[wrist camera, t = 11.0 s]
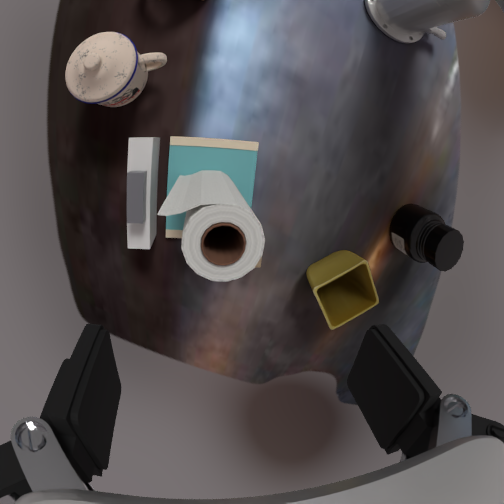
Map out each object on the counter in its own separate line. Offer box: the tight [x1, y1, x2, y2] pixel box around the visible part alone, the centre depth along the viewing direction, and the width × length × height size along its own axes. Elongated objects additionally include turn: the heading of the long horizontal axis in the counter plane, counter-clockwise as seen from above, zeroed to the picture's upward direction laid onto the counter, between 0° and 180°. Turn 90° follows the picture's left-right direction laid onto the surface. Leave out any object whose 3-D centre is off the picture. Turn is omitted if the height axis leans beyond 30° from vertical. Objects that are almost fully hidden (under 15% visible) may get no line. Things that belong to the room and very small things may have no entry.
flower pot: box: [306, 250, 379, 330], centre depth 45 cm, size 9×9×9 cm
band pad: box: [166, 136, 259, 238], centre depth 41 cm, size 12×14×1 cm
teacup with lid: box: [65, 32, 167, 107], centre depth 27 cm, size 12×9×12 cm
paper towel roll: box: [157, 170, 265, 282], centre depth 30 cm, size 7×6×21 cm
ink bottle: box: [390, 204, 464, 271], centre depth 43 cm, size 10×9×12 cm
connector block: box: [127, 137, 160, 249], centre depth 36 cm, size 3×14×8 cm, turn 174°
